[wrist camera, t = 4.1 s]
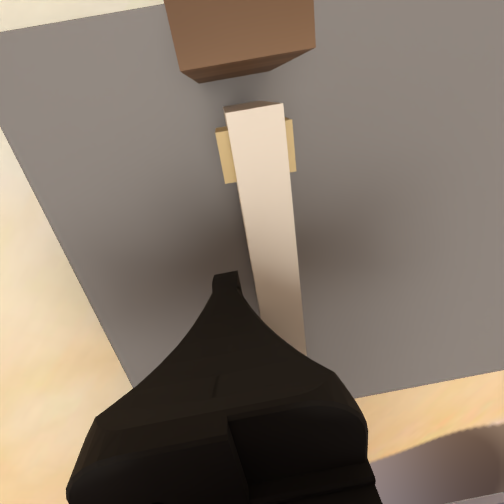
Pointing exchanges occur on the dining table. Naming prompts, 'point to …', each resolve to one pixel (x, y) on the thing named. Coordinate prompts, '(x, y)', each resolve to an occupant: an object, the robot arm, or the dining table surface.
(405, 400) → the dining table surface
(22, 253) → the dining table surface
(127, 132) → the base
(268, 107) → the gate leaf
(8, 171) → the dining table surface
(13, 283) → the dining table surface
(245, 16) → the gate posts
